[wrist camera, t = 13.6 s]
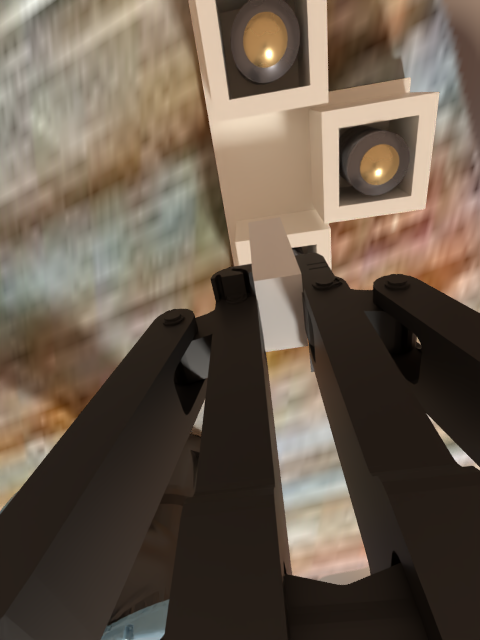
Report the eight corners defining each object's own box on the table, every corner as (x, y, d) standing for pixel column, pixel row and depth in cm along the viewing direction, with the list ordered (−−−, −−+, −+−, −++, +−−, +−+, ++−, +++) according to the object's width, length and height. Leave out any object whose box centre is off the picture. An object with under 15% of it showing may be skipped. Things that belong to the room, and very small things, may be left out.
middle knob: (332, 183, 33) (348, 200, 28) (331, 130, 31) (349, 137, 25) (381, 176, 32) (407, 191, 27) (384, 121, 30) (413, 126, 25)
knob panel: (240, 296, 41) (239, 330, 35) (186, -16, 27) (170, -49, 21) (389, 276, 40) (416, 309, 34) (416, -64, 26) (470, -115, 19)
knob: (237, 89, 29) (236, 88, 24) (228, 20, 27) (224, 1, 22) (291, 79, 29) (302, 76, 23) (287, 8, 26) (298, -14, 21)
